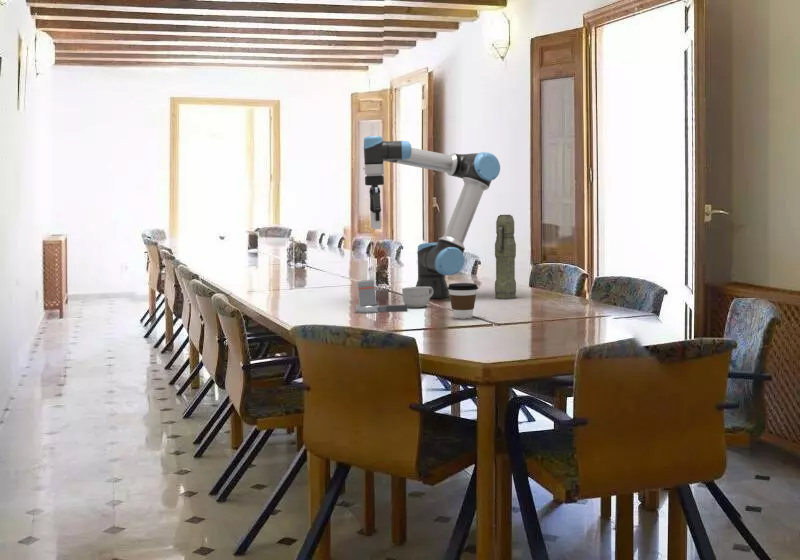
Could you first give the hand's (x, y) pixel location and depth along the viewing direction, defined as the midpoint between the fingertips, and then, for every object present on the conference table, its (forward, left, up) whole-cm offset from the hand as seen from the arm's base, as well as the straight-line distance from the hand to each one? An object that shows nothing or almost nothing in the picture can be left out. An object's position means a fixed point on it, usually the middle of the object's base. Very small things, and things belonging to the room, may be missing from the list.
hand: (376, 228), depth 379 cm
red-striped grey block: (+5, +23, -28) cm, 36 cm away
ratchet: (0, +23, -31) cm, 38 cm away
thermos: (-55, -11, -31) cm, 64 cm away
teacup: (-16, +12, -31) cm, 37 cm away
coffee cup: (-28, +46, -31) cm, 62 cm away
